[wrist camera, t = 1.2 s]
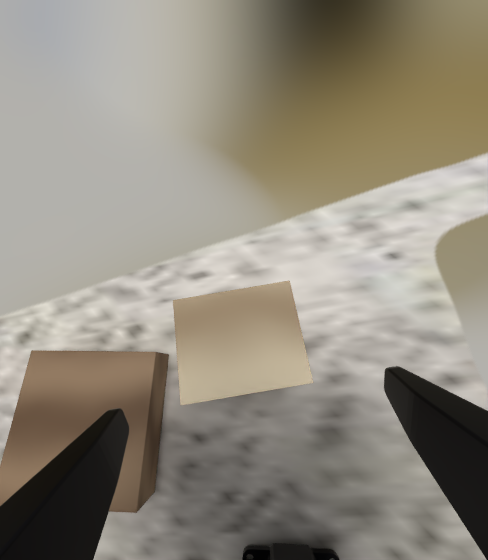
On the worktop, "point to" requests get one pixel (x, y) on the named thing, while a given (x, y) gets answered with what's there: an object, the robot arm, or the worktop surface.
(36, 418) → the walnut block
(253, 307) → the ash block
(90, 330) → the worktop surface
